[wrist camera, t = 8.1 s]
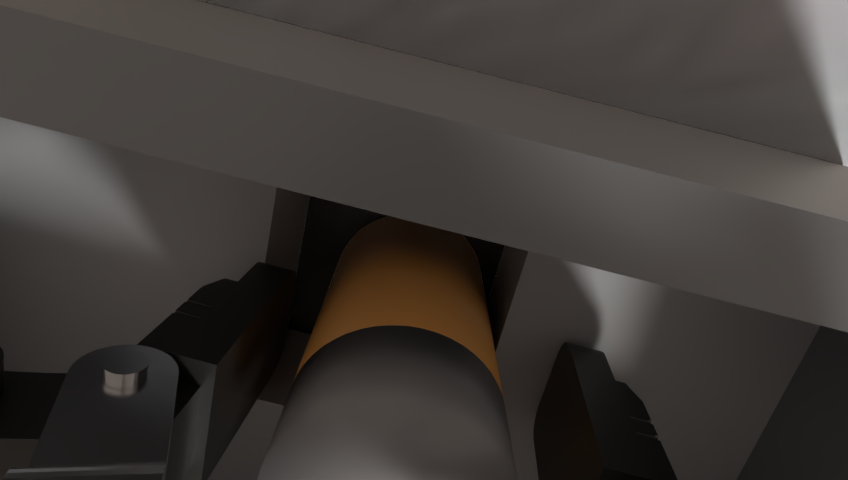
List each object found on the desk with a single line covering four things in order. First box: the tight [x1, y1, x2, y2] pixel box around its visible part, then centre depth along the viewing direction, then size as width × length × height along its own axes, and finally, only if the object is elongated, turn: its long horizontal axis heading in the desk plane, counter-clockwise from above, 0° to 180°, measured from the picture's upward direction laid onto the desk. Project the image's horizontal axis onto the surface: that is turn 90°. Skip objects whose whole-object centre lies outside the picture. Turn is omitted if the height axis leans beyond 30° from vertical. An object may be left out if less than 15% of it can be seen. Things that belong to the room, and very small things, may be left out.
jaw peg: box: [257, 216, 518, 480], centre depth 11 cm, size 4×4×7 cm
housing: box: [0, 0, 848, 480], centre depth 12 cm, size 16×18×8 cm
